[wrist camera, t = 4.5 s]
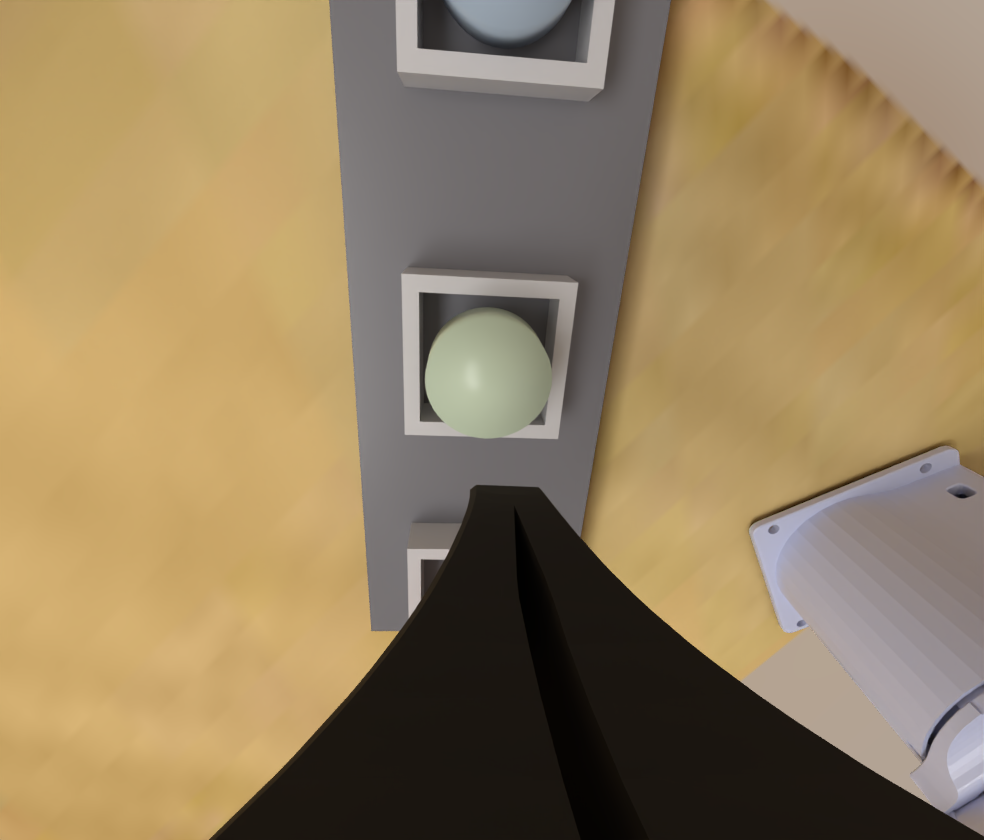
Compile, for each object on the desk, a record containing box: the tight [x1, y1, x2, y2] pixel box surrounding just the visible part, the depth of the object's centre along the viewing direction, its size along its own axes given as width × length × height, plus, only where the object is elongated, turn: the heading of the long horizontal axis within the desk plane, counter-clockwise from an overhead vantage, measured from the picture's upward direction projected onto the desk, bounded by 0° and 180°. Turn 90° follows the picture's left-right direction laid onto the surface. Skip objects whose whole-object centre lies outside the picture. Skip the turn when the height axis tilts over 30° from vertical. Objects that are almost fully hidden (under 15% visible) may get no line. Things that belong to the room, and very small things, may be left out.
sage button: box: [425, 307, 552, 439], centre depth 14 cm, size 4×4×2 cm
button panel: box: [329, 0, 671, 631], centre depth 16 cm, size 27×9×4 cm, turn 177°
